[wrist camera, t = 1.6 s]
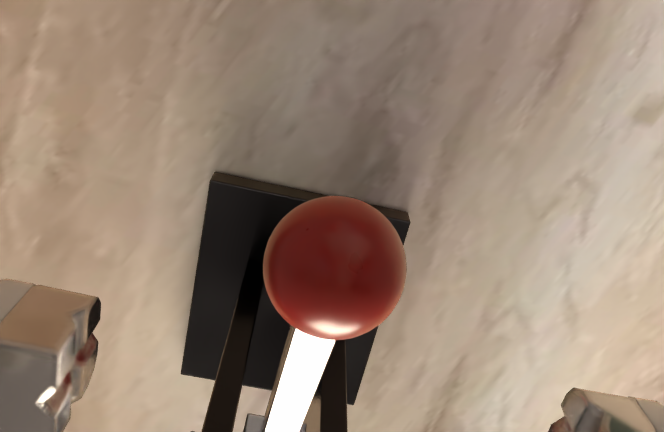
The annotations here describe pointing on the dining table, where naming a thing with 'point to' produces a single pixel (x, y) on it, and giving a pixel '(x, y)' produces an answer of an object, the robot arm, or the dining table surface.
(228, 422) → the switch bracket
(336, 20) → the dining table surface
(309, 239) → the switch lever
